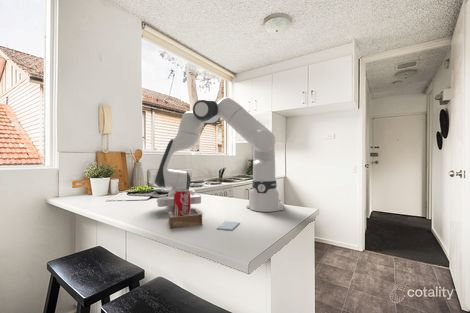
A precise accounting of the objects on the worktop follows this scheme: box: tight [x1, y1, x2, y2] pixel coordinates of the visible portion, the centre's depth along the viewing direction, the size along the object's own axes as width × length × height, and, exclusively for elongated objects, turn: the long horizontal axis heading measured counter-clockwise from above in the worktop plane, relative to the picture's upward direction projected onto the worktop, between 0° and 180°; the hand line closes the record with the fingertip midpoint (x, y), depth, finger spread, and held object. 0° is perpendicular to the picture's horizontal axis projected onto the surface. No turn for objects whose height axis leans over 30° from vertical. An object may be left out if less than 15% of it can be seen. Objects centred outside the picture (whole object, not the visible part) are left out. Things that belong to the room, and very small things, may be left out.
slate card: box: [216, 220, 240, 232], centre depth 85 cm, size 9×6×1 cm, turn 162°
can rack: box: [168, 208, 203, 229], centre depth 89 cm, size 9×12×4 cm
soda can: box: [173, 189, 192, 217], centre depth 98 cm, size 7×7×12 cm
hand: (181, 203), depth 101 cm, fingers closed
